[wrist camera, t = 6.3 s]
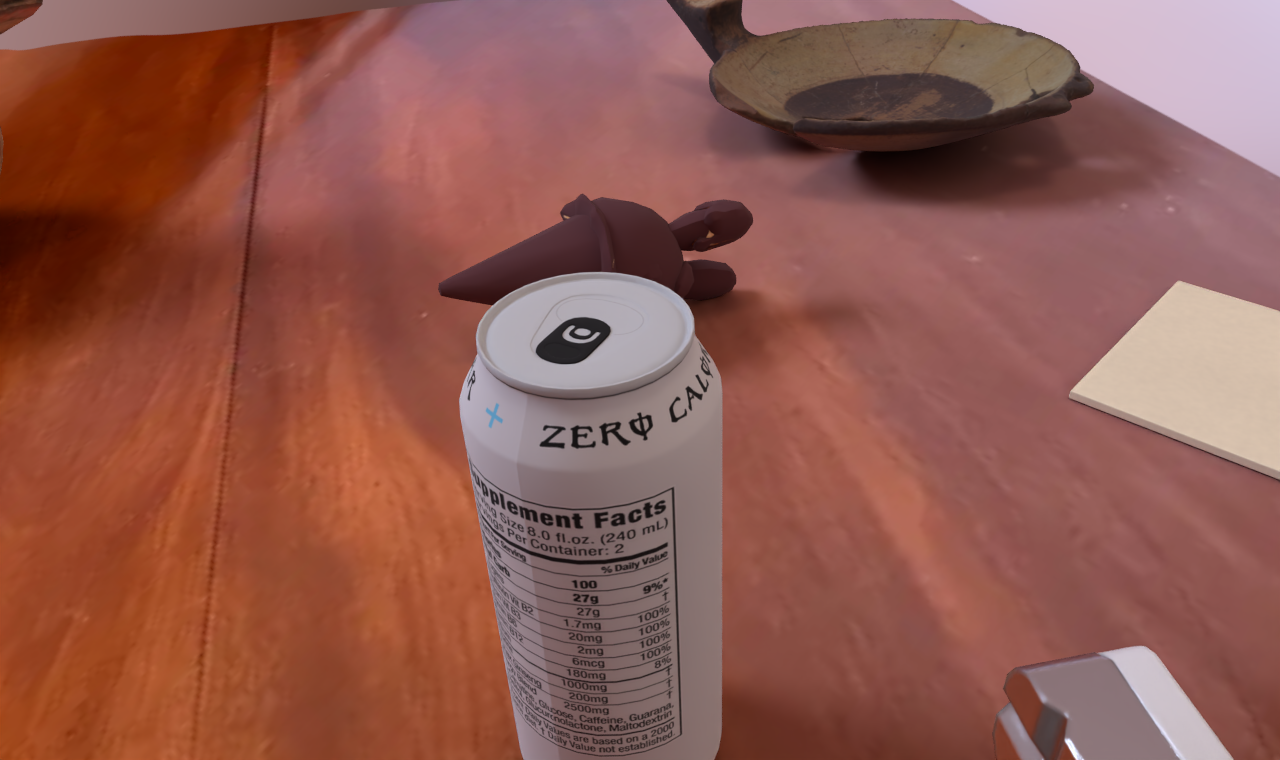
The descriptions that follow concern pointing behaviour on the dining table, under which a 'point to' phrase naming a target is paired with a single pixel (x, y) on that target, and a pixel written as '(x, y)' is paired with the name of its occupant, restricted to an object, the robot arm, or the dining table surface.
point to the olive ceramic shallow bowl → (883, 77)
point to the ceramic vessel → (4, 6)
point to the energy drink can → (601, 516)
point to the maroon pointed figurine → (613, 250)
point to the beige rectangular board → (1198, 376)
